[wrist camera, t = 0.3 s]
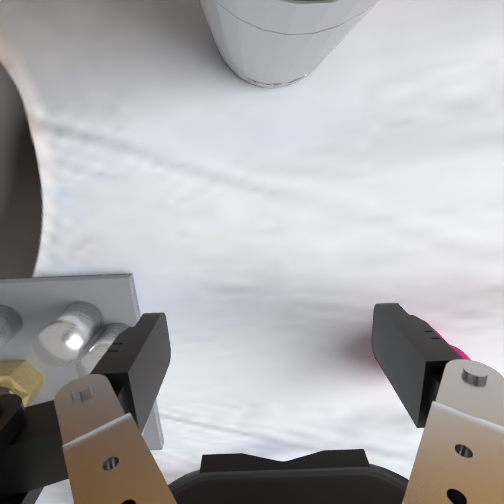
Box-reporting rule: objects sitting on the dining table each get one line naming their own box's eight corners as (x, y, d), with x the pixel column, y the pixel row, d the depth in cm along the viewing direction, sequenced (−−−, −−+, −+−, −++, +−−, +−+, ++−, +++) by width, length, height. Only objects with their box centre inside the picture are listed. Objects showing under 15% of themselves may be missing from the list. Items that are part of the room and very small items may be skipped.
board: (-193, 287, 31) (-207, 291, 30) (132, 273, 31) (128, 278, 30) (-99, 450, 39) (-108, 458, 38) (163, 442, 38) (161, 449, 37)
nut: (-12, 361, 33) (-32, 378, 31) (38, 359, 33) (22, 376, 31) (1, 396, 35) (-17, 414, 32) (50, 394, 35) (35, 413, 32)
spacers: (-82, 307, 31) (-142, 338, 26) (130, 299, 31) (108, 328, 26) (-21, 441, 37) (-60, 486, 32) (157, 435, 37) (143, 480, 32)
